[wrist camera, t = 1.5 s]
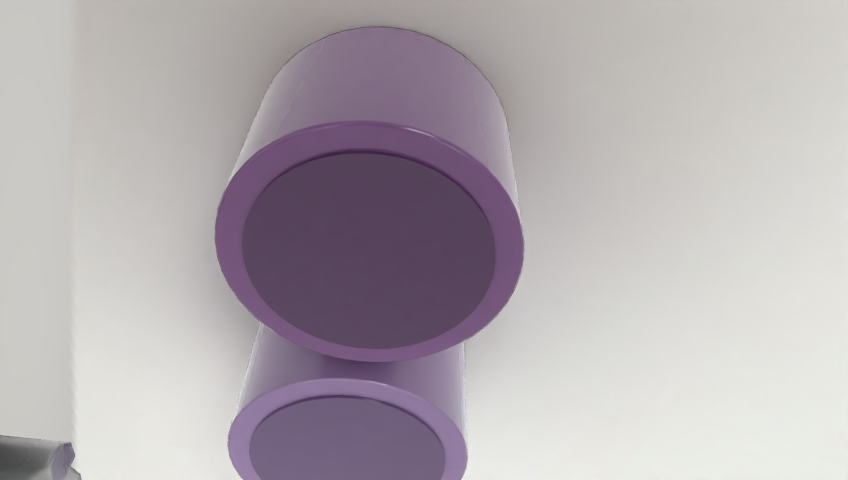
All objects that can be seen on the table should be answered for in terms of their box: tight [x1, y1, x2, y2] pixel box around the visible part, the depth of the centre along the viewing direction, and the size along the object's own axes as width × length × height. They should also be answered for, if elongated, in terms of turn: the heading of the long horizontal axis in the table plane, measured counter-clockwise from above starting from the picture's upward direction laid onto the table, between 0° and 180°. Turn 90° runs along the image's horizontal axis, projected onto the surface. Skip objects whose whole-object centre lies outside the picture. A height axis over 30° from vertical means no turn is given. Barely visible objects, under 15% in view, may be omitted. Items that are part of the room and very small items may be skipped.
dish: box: [228, 322, 468, 480], centre depth 21 cm, size 6×6×5 cm
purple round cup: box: [214, 27, 524, 362], centre depth 17 cm, size 6×6×5 cm
